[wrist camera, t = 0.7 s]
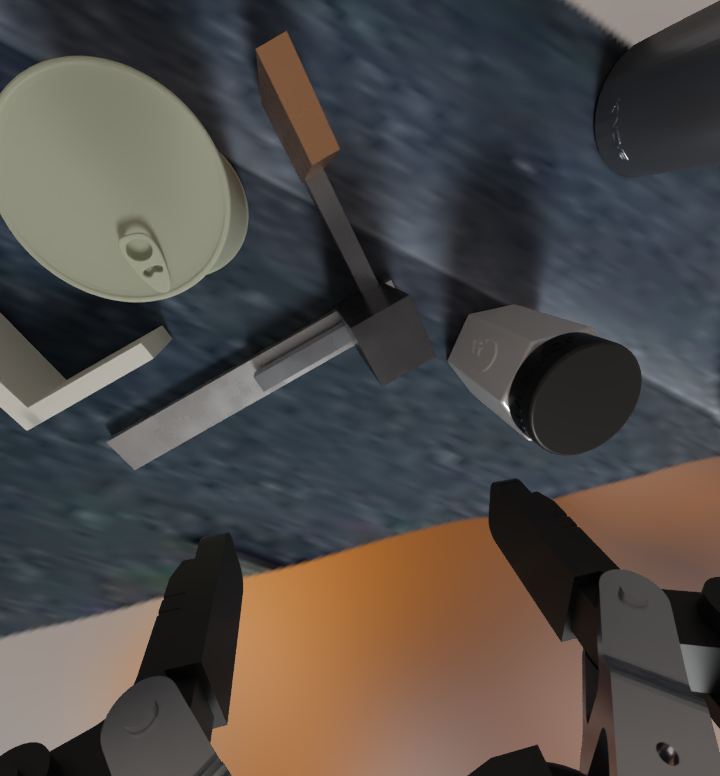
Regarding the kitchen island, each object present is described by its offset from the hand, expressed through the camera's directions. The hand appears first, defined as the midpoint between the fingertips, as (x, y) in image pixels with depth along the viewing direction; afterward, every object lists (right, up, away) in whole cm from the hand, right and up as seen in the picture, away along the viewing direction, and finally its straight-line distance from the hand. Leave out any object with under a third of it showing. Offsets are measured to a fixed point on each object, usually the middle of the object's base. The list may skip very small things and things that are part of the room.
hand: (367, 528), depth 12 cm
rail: (-9, +5, +20) cm, 23 cm away
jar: (+12, +8, +24) cm, 28 cm away
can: (-13, +17, +15) cm, 26 cm away
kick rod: (-6, +13, +16) cm, 22 cm away
